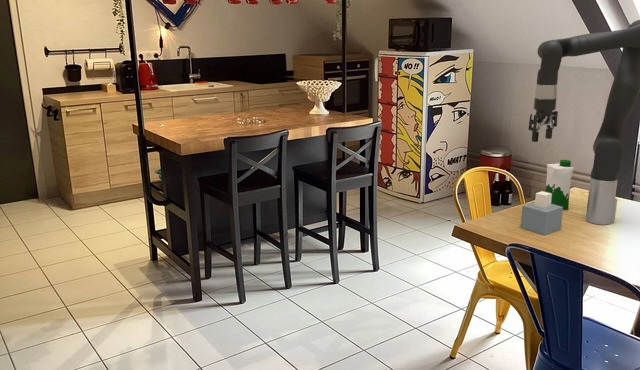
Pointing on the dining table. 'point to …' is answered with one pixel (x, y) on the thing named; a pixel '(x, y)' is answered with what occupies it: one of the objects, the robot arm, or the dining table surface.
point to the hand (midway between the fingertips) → (541, 140)
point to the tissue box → (542, 215)
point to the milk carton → (559, 182)
